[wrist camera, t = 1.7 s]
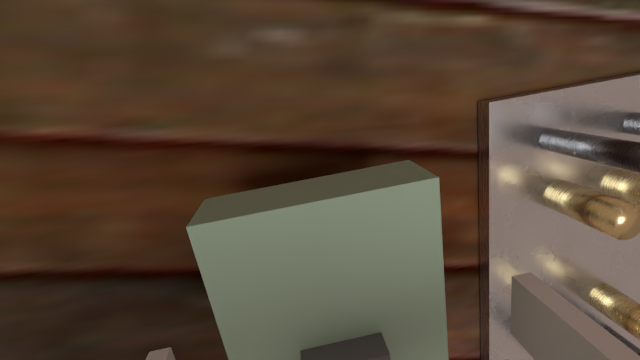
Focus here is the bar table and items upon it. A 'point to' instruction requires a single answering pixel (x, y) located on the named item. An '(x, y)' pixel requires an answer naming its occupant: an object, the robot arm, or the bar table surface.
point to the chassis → (561, 205)
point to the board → (328, 267)
